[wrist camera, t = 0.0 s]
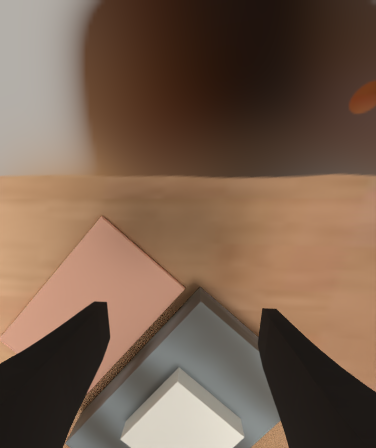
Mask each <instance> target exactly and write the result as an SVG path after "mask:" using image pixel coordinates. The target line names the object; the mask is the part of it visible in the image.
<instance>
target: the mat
mask: <svg viewBox="0 0 376 448" xmlns="http://www.w3.org/2000/svg"><path fill="white" fill-rule="evenodd" d="M184 290H185V287H184V286H183V285H182V284H180V283H179V282H178V281H177V280H176V279H175V278H174V277H172V276H171V275H170V274H169V273H168V272H167V271H165V270H164V269H163V268H162V267H161V266H160V265H158V264H157V263H156V262H155V261H154V260H153V259H152V258H150V257H149V256H148V255H147V254H146V253H145V252H143V251H142V250H141V249H140V248H139V247H138V246H137V245H135V244H134V243H133V242H132V241H131V240H130V239H128V238H127V237H126V236H125V235H124V234H123V233H121V232H120V231H119V230H118V229H117V228H116V227H115V226H113V225H112V224H111V223H110V222H109V221H108V220H106V219H105V218H104V217H103V216H102V217H100V218H99V220H98V221H97V222H96V223H95V224H94V226H93V227H92V228H91V229H90V230H89V232H88V233H87V234H86V235H85V236H84V238H83V239H82V240H81V241H80V242H79V244H78V245H77V246H76V247H75V248H74V250H73V251H72V252H71V253H70V254H69V256H68V257H67V258H66V259H65V260H64V262H63V263H62V264H61V265H60V266H59V268H58V269H57V270H56V271H55V272H54V274H53V275H52V276H51V277H50V278H49V280H48V281H47V282H46V283H45V284H44V285H43V287H42V288H41V289H40V290H39V291H38V293H37V294H36V295H35V296H34V297H33V299H32V300H31V301H30V302H29V303H28V305H27V306H26V307H25V308H24V309H23V311H22V312H21V313H20V314H19V315H18V317H17V318H16V319H15V320H14V321H13V323H12V324H11V325H10V326H9V327H8V329H7V330H6V331H5V332H4V333H3V335H2V336H1V337H0V341H1V342H3V343H4V344H5V345H6V346H8V347H9V348H10V349H11V350H13V351H14V352H15V353H16V354H18V353H20V352H21V351H23V350H25V349H26V348H28V347H29V346H31V345H32V344H34V343H36V342H37V341H39V340H40V339H42V338H43V337H45V336H46V335H48V334H49V333H51V332H52V331H54V330H55V329H56V328H58V327H59V326H61V325H62V324H63V323H65V322H66V321H68V320H69V319H70V318H72V317H73V316H74V315H76V314H77V313H79V312H80V311H81V310H83V309H84V308H85V307H87V306H88V305H90V304H91V303H93V302H94V301H97V302H107V306H108V317H109V328H110V341H109V344H108V347H107V350H106V352H105V355H104V358H103V361H102V363H101V365H100V367H99V369H98V371H97V373H96V375H95V377H94V379H93V381H92V383H91V385H90V388H89V390H88V392H89V391H90V390H91V389H92V388H93V387H94V386H95V385H96V384H97V383H98V382H99V380H100V379H101V378H102V377H103V376H104V375H105V374H106V373H107V372H108V371H109V370H110V369H111V368H112V367H113V366H114V364H115V363H116V362H117V361H118V360H119V359H120V358H121V357H122V356H123V355H124V354H125V353H126V352H127V351H128V349H129V348H130V347H131V346H132V345H133V344H134V343H135V342H136V341H137V340H138V339H139V338H140V337H141V336H142V334H143V333H144V332H145V331H146V330H147V329H148V328H149V327H150V326H151V325H152V324H153V323H154V322H155V321H156V320H157V318H158V317H159V316H160V315H161V314H162V313H163V312H164V311H165V310H166V309H167V308H168V307H169V306H170V305H171V303H172V302H173V301H174V300H175V299H176V298H177V297H178V296H179V295H180V294H181V293H182V292H183V291H184ZM88 392H87V393H88Z"/></svg>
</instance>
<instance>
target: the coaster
mask: <svg viewBox="0 0 376 448" xmlns="http://www.w3.org/2000/svg"><path fill="white" fill-rule="evenodd" d="M243 438H244V432H243V427H242V422H241V419H240V418H239V417H238V416H237V415H236V414H234V413H233V412H232V411H231V410H230V409H228V408H227V407H226V406H225V405H224V404H222V403H221V402H220V401H219V400H218V399H216V398H215V397H214V396H213V395H212V394H210V393H209V392H208V391H207V390H206V389H205V388H203V387H202V386H201V385H200V384H199V383H197V382H196V381H195V380H194V379H193V378H191V377H190V376H189V375H188V374H187V373H185V372H184V371H183V370H182V369H181V368H178V369H177V370H176V371H175V372H174V373H173V374H172V375H171V376H170V377H169V378H168V379H167V380H166V381H165V382H164V383H163V384H162V385H161V386H160V387H159V388H158V389H157V390H156V391H155V392H154V393H153V394H152V395H151V396H150V397H149V398H148V399H147V400H146V401H145V402H144V403H143V404H142V405H141V406H140V407H139V408H138V409H137V410H136V411H135V412H134V413H133V414H132V415H131V416H130V417H129V418H128V419H127V420H126V422H125V426H124V429H123V432H122V435H121V438H120V439H121V440H122V441H123V442H124V443H126V444H127V445H128V446H129V447H130V448H233V447H234V446H236V445H237V444H238V443H239V442H240V441H241V440H242V439H243Z"/></svg>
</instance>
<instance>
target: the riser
mask: <svg viewBox="0 0 376 448" xmlns="http://www.w3.org/2000/svg"><path fill="white" fill-rule="evenodd" d="M258 338H259V337H257V336H256V335H255V334H254V333H253V332H252V331H250V330H249V329H248V328H247V327H246V326H245V325H244V324H242V323H241V322H240V321H239V320H238V319H237V318H236V317H234V316H233V315H232V314H231V313H230V312H229V311H227V310H226V309H225V308H224V307H223V306H222V305H221V304H219V303H218V302H217V301H216V300H215V299H214V298H213V297H211V296H210V295H209V294H208V293H207V292H206V291H204V290H203V289H202V288H201V287H200V288H199V289H198V290H197V291H196V292H195V293H194V294H193V295H192V296H191V297H190V298H189V299H188V300H187V301H186V302H185V303H184V305H183V306H182V307H181V308H180V309H179V310H178V311H177V312H176V313H175V314H174V315H173V316H172V317H171V318H170V319H169V320H168V321H167V323H166V324H165V325H164V326H163V327H162V328H161V329H160V330H159V331H158V332H157V333H156V334H155V335H154V336H153V337H152V338H151V339H150V341H149V342H148V343H147V344H146V345H145V346H144V347H143V348H142V349H141V350H140V351H139V352H138V353H137V354H136V355H135V356H134V357H133V359H132V360H131V361H130V362H129V363H128V364H127V365H126V366H125V367H124V368H123V369H122V370H121V371H120V372H119V373H118V374H117V375H116V377H115V378H114V379H113V380H112V381H111V382H110V383H109V384H108V385H107V386H106V387H105V388H104V389H103V390H102V391H101V392H100V394H99V395H98V396H97V397H96V398H95V399H94V400H93V401H92V402H91V403H90V404H89V405H88V406H87V407H86V408H85V409H84V410H83V412H82V413H81V415H80V417H79V419H78V421H77V422H76V424H75V426H74V428H73V430H72V432H71V434H70V436H69V438H68V439H67V441H66V443H65V444H66V445H68V446H69V447H70V448H130V447H129V446H128V445H127V444H126V443H124V442H123V441H122V440H121V439H120V438H121V435H122V432H123V429H124V426H125V422H126V420H127V419H128V418H129V417H130V416H131V415H132V414H133V413H134V412H135V411H136V410H137V409H138V408H139V407H140V406H141V405H142V404H143V403H144V402H145V401H146V400H147V399H148V398H149V397H150V396H151V395H152V394H153V393H154V392H155V391H156V390H157V389H158V388H159V387H160V386H161V385H162V384H163V383H164V382H165V381H166V380H167V379H168V378H169V377H170V376H171V375H172V374H173V373H174V372H175V371H176V370H177V369H178V368H181V369H182V370H183V371H184V372H185V373H187V374H188V375H189V376H190V377H191V378H193V379H194V380H195V381H196V382H197V383H199V384H200V385H201V386H202V387H203V388H205V389H206V390H207V391H208V392H209V393H210V394H212V395H213V396H214V397H215V398H216V399H218V400H219V401H220V402H221V403H222V404H224V405H225V406H226V407H227V408H228V409H230V410H231V411H232V412H233V413H234V414H236V415H237V416H238V417H239V418H240V419H241V422H242V427H243V432H244V438H243V439H242V440H241V441H240V442H239V443H238V444H237V445H236V446H234V447H233V448H251V447H252V446H253V445H254V444H255V443H256V442H257V441H258V440H259V439H261V438H262V437H263V436H264V435H265V434H266V433H267V432H268V431H269V430H270V429H272V428H273V427H274V426H275V425H276V424H277V423H278V422H279V421H280V417H279V414H278V411H277V408H276V405H275V402H274V399H273V397H272V394H271V391H270V388H269V385H268V382H267V379H266V376H265V373H264V370H263V367H262V362H261V358H260V353H259V349H258Z"/></svg>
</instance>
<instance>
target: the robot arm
mask: <svg viewBox="0 0 376 448" xmlns="http://www.w3.org/2000/svg"><path fill="white" fill-rule="evenodd" d="M109 341H110V328H109V317H108V306H107V302H97V301H94V302H93V303H91V304H90V305H88V306H87V307H85V308H84V309H83V310H81V311H80V312H79V313H77V314H76V315H74V316H73V317H72V318H70V319H69V320H68V321H66V322H65V323H63V324H62V325H61V326H59V327H58V328H56V329H55V330H54V331H52V332H51V333H49V334H48V335H46V336H45V337H43V338H42V339H40V340H39V341H37V342H36V343H34V344H32V345H31V346H29V347H28V348H26V349H25V350H23V351H21V352H20V353H18V354H16V355H15V356H13V357H11V358H9V359H8V360H6V361H4V362H2V363H1V364H0V448H63V445H64V443H65V440H66V438H67V435H68V432H69V430H70V428H71V425H72V423H73V421H74V419H75V416H76V414H77V412H78V410H79V408H80V406H81V404H82V402H83V400H84V398H85V396H86V394H87V392H88V390H89V388H90V385H91V383H92V381H93V379H94V377H95V375H96V373H97V371H98V369H99V367H100V365H101V363H102V361H103V358H104V355H105V352H106V350H107V347H108V344H109ZM258 349H259V353H260V358H261V362H262V367H263V370H264V373H265V376H266V379H267V382H268V385H269V388H270V391H271V394H272V397H273V399H274V402H275V405H276V408H277V411H278V414H279V417H280V420H281V423H282V426H283V429H284V432H285V435H286V438H287V442H288V446H289V448H376V392H375V391H373V390H372V389H370V388H369V387H367V386H366V385H365V384H363V383H362V382H360V381H359V380H358V379H356V378H355V377H354V376H352V375H351V374H350V373H348V372H347V371H346V370H344V369H343V368H342V367H340V366H339V365H338V364H337V363H335V362H334V361H333V360H332V359H331V358H329V357H328V356H327V355H326V354H325V353H323V352H322V351H321V350H320V349H319V348H318V347H316V346H315V345H314V344H313V343H312V342H311V341H310V340H309V339H307V338H306V337H305V336H304V335H303V334H302V333H301V332H300V331H299V330H298V329H297V328H296V327H295V326H294V325H292V324H291V323H290V322H289V321H288V320H287V319H286V318H285V317H284V316H283V315H282V314H281V313H280V312H279V311H278V310H277V309H265V308H262V316H261V323H260V331H259V338H258Z"/></svg>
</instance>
